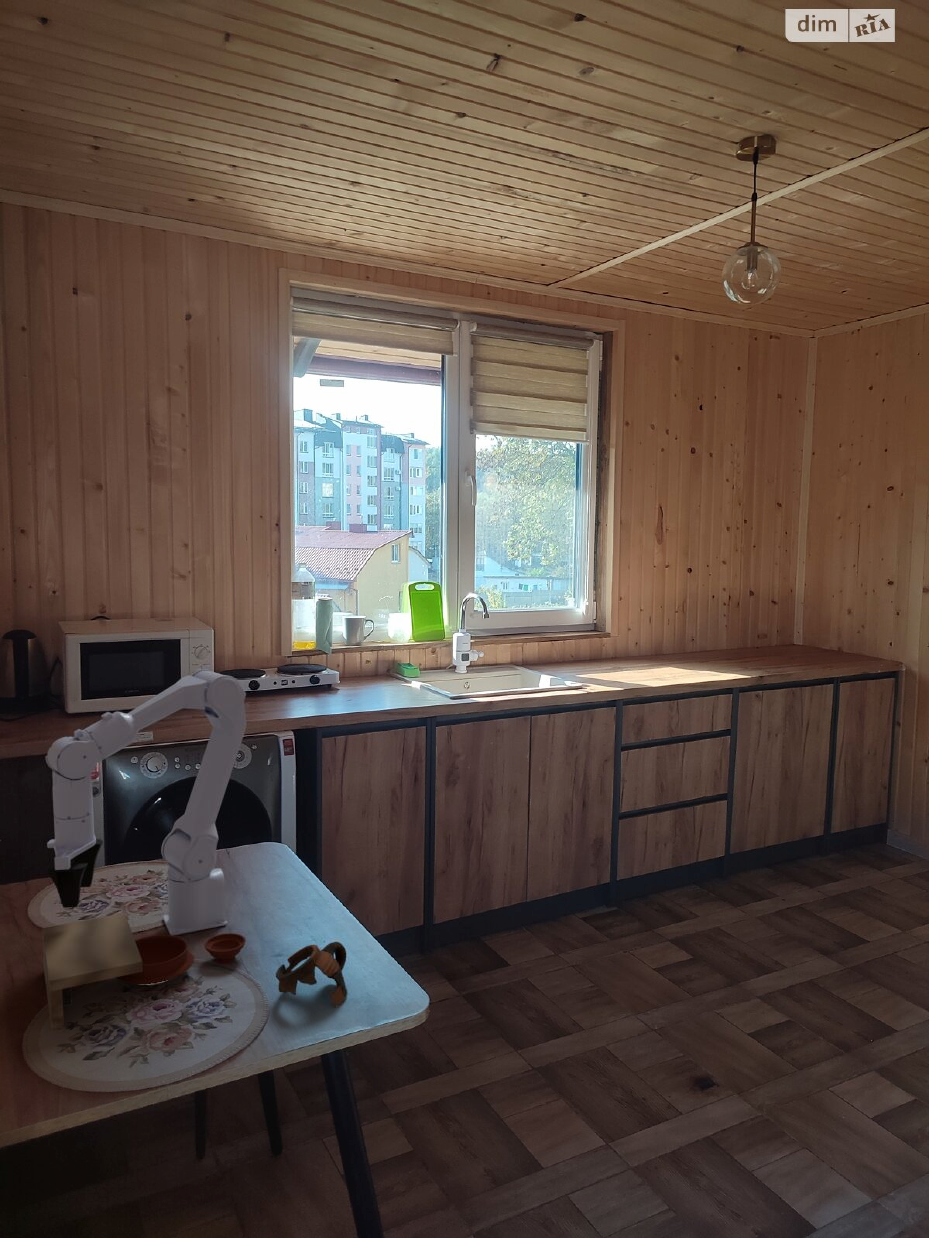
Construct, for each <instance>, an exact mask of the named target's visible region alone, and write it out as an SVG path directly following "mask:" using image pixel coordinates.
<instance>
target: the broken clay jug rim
mask: <svg viewBox="0 0 929 1238" xmlns="http://www.w3.org/2000/svg"><path fill="white" fill-rule="evenodd" d="M286 960H287V962H288V964H289V965H288V966H287V967H286V965H285V964H284V963H282V964H281V966H279V967H278V969H277V970H276V972H275V978H276V979H277V980H278V987H277V988H278V992H279V993H282V994H283V993H284V994H285V993H290V994H292V995H293V996H297V986H298V981H299V982H300V983H301V984H304V985H305V984H306V985H309V986H314V985H316V984H317V983H318V981H317V979H316V968H317V969H319V970H320V971H321V973H322V974H323V975H325V976H326V977H327V978H328V979H332V980H334V982H335V984H336V986H335V988H334V989H333V990H332V992H331V993H329V999H330V1000H331V1001H332V1004H333V1006H335V1007H334V1008H337V1007H336V1006H338V1007H339V1006H340V1005H341V1004H342V1003H343V1002H344V1000H345V998H346V996H347V995H348V989H347V986H346V982H345V978H344V976H343V970H344V967H345V966H346V965H345V964H346V961H347V950H346V948H345V946H344V945H343V944H342V943H341V942H339V941H333V942H330V943H328V944H327V945H326V946H324V948H322V949H320V948H319V946H318V944H310V945H306V946H304V947H302V948H301V949H299V950H298V951H296V952H294V953H293V954H292V955H290V956H289V957H288V958H287V959H286ZM303 961H304V962H303ZM301 962H303V963H301ZM300 963H301V965H299V964H300ZM298 965H299V966H298ZM297 966H298V967H297ZM295 967H297V968H295ZM294 968H295V969H294Z"/></svg>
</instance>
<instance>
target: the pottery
mask: <svg viewBox="0 0 929 1238" xmlns="http://www.w3.org/2000/svg"><path fill="white" fill-rule="evenodd" d="M134 940H135V943H136V945H137V948H138V951H139V954H140V956H141V959H142V967H143V972H138V973H133V974H129V975H124V976H120V977H115V978H116V979H117V980H119V981H121V982H123V983H126V984H132V985H133V984H134V985H138V984H151V983H157V982H162V981H166V980H169V979H170V980H172V979H175V978H177V977H178V976H179V977H180V976H181V975H182V974H184V973H185V972H187V971H188V970H190V968H192V966H193V964H194V961H195V959H194V955H193V953H192V952H191V951H189V944H188V942H187V941H186V940H185V939H184V938H183V937H180V936H178V935H173V936H172V935H170V934H157V935H155V934H154V935H150V936H145V937H140V938H137V939H134ZM246 941H247V939H246V937H244V935H242V934H239V933H234V932H233V933H229V932H228V933H221V934H220V933H219V934H217V935H213V936H211V937H209V938H207V940H206V941H205V942H204V943H203V947H204V948H205V951H206V952H207V953H209V955H210V956H212V958H214V959H215V962H216V963H217V964H219V963H220V965H226V964H227V965H228V964H231V963H233V962H234V961H235V960H236V957H237V955H239V953H240V952H241V950H242V949H243V948H244V946H245V944H246ZM170 980H169V981H170Z"/></svg>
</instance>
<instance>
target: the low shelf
mask: <svg viewBox="0 0 929 1238" xmlns="http://www.w3.org/2000/svg"><path fill="white" fill-rule="evenodd" d="M41 932H42V933H41V934H42V956H43V975H44V980H45V981H44V982H45V988H46V989H45V990H46V999H47V1005H48V1013H49V1019H50V1027H51V1030H57V1029H61V1028H63V1027H65V1026H64V1008H63V1007H65V1006H70V1005H72V1004H73V1001H72V1000H73V999H72V987H77V986H83V985H86V984H91V983H96V982H100V981H105V980H109V979H114V978H116V977H120V976H124V975H129V974H133V973H138V972H143V967H142V959H141V956H140V954H139V951H138V948H137V945H136V943H135V940H136V939H135V937H134V934H133V932H132V929H131V926H130V924H129V921H128V918H127V916H126V913H125V912H121V913H117V914H112V915H106V916H102V917H96V918H91V919H85V920H80V921H75V922H69V923H63V924H58V925H54V926H47V927H42V928H41Z"/></svg>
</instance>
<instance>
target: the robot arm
mask: <svg viewBox="0 0 929 1238" xmlns="http://www.w3.org/2000/svg"><path fill="white" fill-rule="evenodd" d="M246 696H247V692H245V690H244V688H243V686H242V685H241V684H240V682H239V681H238V679H236V678H235V677H234V676H231V675H225V674H220V673H218V672H214V671H213V670H210V669H207V668H206V669H205V668H203V669H202V668H201V669H198V670H196V671H194V672H193V673H191V675H186V676H183V677H181V678H180V679H179V680H177V681H176V683H174V684H172V685H171V686H169V687H168V688H167V689H164V690H163V691H162V692H160V693H158V694H157V695H155V696H153V697H152V698H150V699H149V700H147V701H146V702H143V703H142V704H141V705H139V706H137V707H136V708H134V709H132V710H131V711H129V712H128V713H124V712H122V711H115V712H113V713H111V712H109V711H107V712H105V713H103V714H102V715H101V716H100V717H101V719H100V720H99V721H96V722H95V723H92V724H91V725H90V726H88V727H86V728H84V729H80V728H78V729H76V730H75V731H74V732H73V735H74V736H62V737H61V738H58V739H57V740H55V741H54V742H53V743H52V744H51V747H49V749H48V750H47V755H46V756H45V761H46V764H47V766H48V768H50V769H51V770H52V802H53V803H52V806H53V807H52V808H53V823H54V824H53V825H54V826H53V827H54V839H53V838H52V839H50V840H49V841H47V843H46V844H47V845H46V846H47V848H48V849H54V850H53V851H54V853H55V857H54V862H50V863H49V864H48V865H46V867H45V869H46V870H45V871H46V873H47V875H48V876H49V877H50V879H51V880H52V881H53V883H54V886H55V887H56V890H57V893H58V897H59V900H60V903H61V905H62V908H64V909H65V908H77V907H78V905H79V903H80V899H81V891H82V890H81V889H82V888H91V887H92V884H93V880H94V873H95V867H96V862H97V860H98V859H97V858H98V856H99V853H100V850H101V847H102V845H103V843H104V842H103V839H100V838H96V835H95V820H94V819H95V818H94V801H93V800H94V799H93V798H94V796H93V783H92V773H93V771H94V770H95V768H96V766H97V764H98V763H100V762H102V761H104V760H105V759H107V758H109V757H111V756H113V755H114V754H117V752H119V751H121V750H122V749H124V748H126V747H128V746H130V745H131V744H133V743H134V742H135V741H136V740H137V736H138V734H139V732H140V731H141V730H143V729H145V728H147V727H149V726H150V725H153V724H155V723H156V722H159V721H161V720H163V719H164V718H166V717H168V716H171V715H173V714H174V713H175V712H178V711H180V710H182V709H189V710H191V709H193V710H201V711H202V712H203V713H204V714H205V716H206V718H207V719H208V721H209V723H210V724H211V726H212V729H211V734H210V736H209V739H208V742H207V744H206V749H205V751H204V753H203V757H202V760H201V763H200V766H199V770H198V771H197V772H198V773H197V774H196V778H195V781H194V785H193V787H192V789H191V793H190V797H189V800H188V802H187V804H186V809H185V812H184V814H183V815H181V816H180V817H179V818H178V819H177V820H176V821H175V822H174V823H173V827H172V829H171V831H170V832H169V833H168V834H167V835H166V837H165V838H164V840H163V841H162V844H161V848H160V849H161V850H160V852H161V853H160V854H161V855H162V859H163V860H164V861H165V862H166V863H168V868H167V871H166V872H167V873H166V874H167V878H166V879H167V903H168V904H167V906H168V907H167V908H168V909H167V910H168V914H164V915H163V916H162V919H163V922H164V924H165V927H166V928H167V930H168V932H169V935H172V936H178V935H183V934H188V933H192V932H197V931H198V932H199V931H202V930H208V929H213V928H217V927H222V926H226V925H228V921H227V899H226V898H227V896H226V892H227V891H226V890H227V889H226V880H225V875H224V872H223V869H222V868H219V867H218V868H216V867H215V866H216V865H217V859H218V855H217V845H218V843H219V842H218V841H219V835H218V831H217V830H218V829H217V827H216V820H217V817H218V814H219V811H220V809H221V805H222V803H223V800H224V796H225V793H226V791H227V790H226V789H227V787H228V784H229V781H230V778H231V775H232V771H233V769H234V766H235V763H236V760H237V758H238V753H239V750H240V748H241V745H242V741H243V739H244V735H245V732H246V730H247V725H248V724H247V716H246V709H245V707H246V706H245V699H246Z"/></svg>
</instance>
